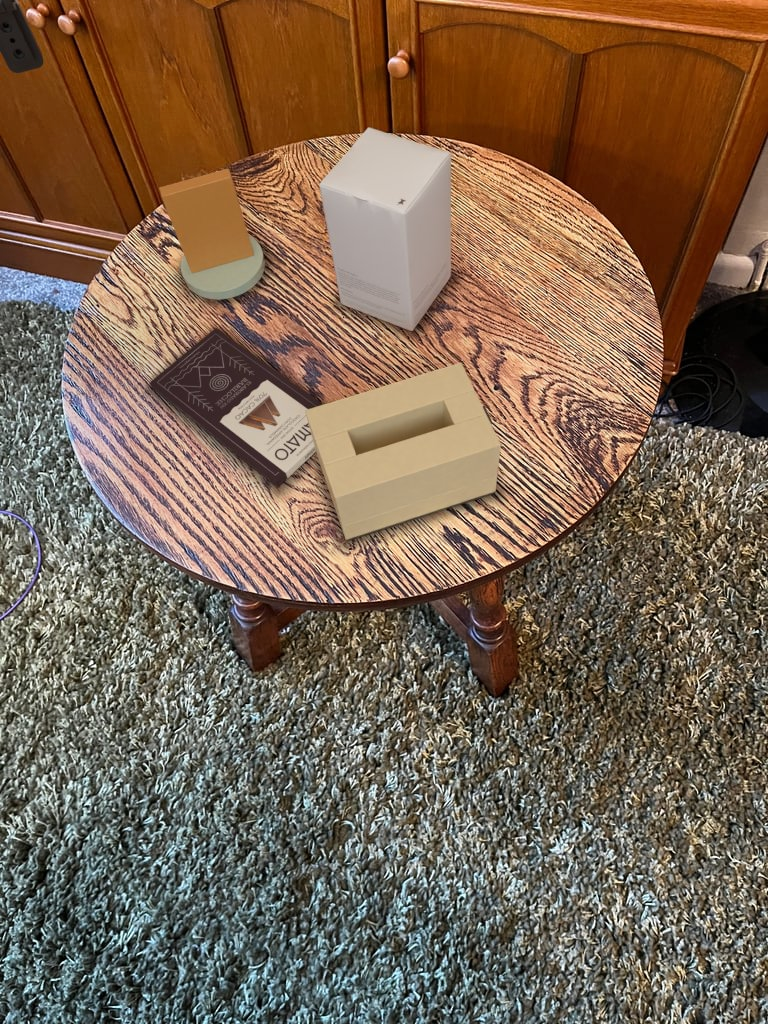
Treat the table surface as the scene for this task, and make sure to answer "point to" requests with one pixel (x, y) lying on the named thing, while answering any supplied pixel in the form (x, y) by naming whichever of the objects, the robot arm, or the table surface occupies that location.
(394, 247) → the white product box
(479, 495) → the toaster
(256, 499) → the table surface
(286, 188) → the table surface
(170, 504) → the table surface
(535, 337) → the table surface
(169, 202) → the toast
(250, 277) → the plate
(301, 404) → the chocolate bar
